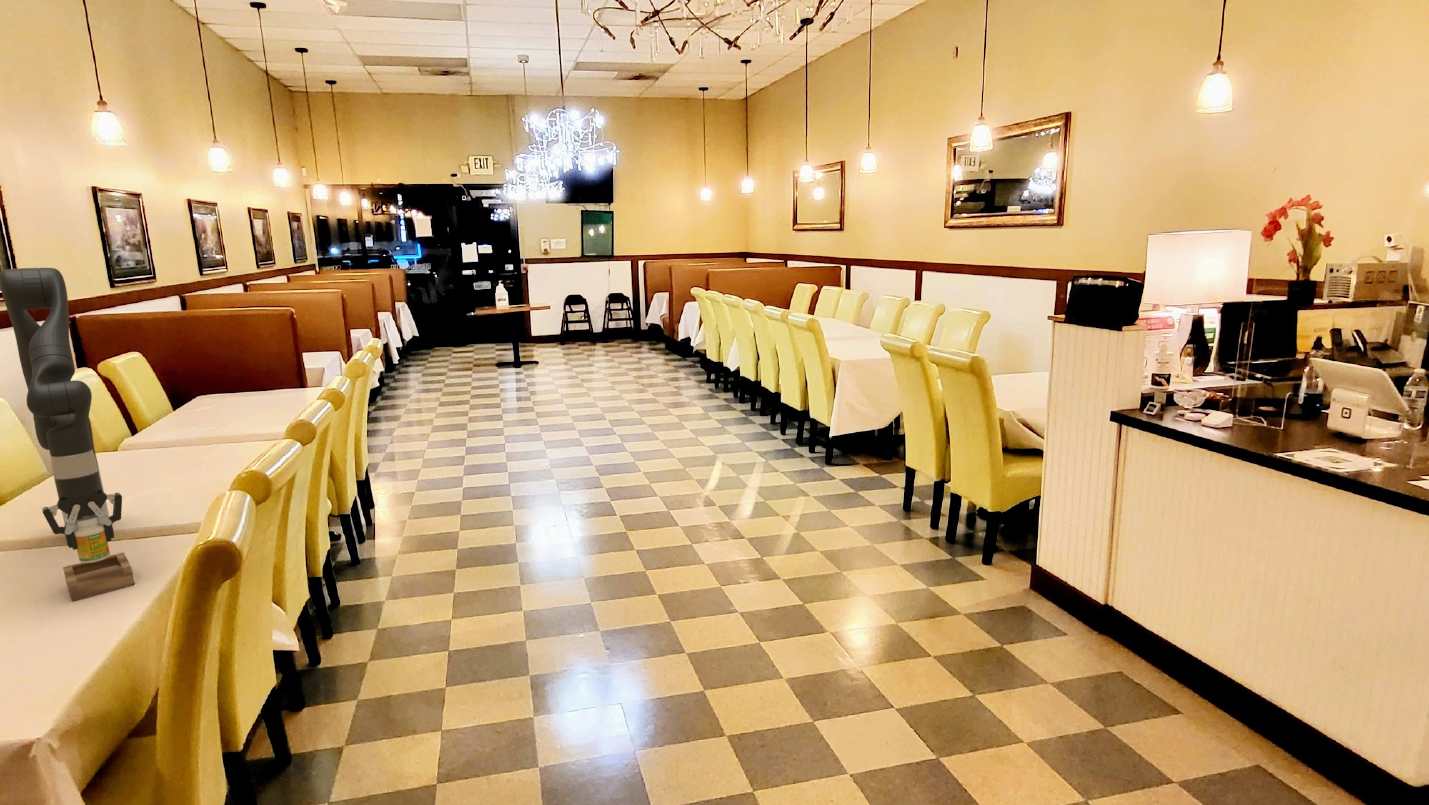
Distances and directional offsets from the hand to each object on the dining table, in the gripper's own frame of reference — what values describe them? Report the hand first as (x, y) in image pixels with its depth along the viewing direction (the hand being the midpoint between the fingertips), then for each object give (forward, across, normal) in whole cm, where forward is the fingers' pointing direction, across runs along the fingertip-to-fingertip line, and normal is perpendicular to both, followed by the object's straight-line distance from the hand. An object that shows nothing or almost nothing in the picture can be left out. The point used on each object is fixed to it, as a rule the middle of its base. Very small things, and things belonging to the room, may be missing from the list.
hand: (91, 544), depth 169 cm
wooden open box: (+10, 0, 0) cm, 10 cm away
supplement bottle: (+4, 0, 0) cm, 4 cm away
